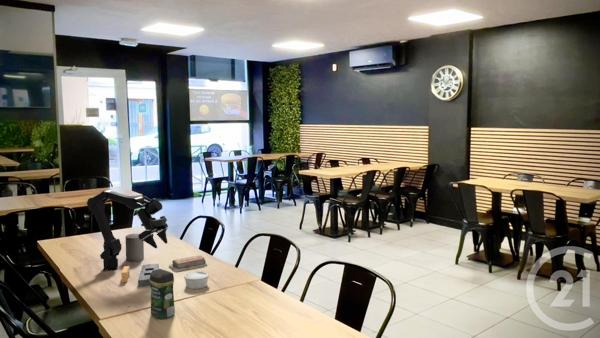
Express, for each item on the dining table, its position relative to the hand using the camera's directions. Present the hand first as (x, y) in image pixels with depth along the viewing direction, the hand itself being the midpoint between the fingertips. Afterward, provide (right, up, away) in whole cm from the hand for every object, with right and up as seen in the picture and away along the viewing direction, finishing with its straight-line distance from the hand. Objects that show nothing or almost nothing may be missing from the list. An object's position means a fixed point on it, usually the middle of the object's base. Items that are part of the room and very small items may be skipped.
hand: (161, 245), depth 236 cm
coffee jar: (+15, -20, -48) cm, 54 cm away
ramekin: (+21, -17, -15) cm, 31 cm away
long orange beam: (-16, -16, -6) cm, 23 cm away
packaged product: (+10, -14, +14) cm, 23 cm away
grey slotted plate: (-5, -15, -4) cm, 17 cm away
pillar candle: (-23, -12, +26) cm, 37 cm away
